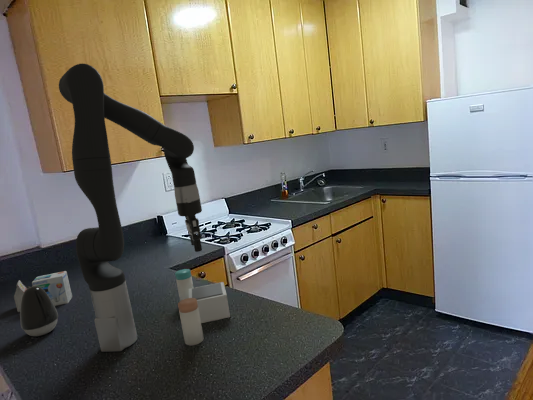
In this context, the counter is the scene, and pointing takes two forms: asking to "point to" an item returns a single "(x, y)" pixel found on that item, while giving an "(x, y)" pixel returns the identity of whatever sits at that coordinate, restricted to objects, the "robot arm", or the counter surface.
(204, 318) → the grey unit
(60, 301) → the light bulb box
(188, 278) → the teal capped canister
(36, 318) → the dark grey rounded pod
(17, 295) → the sunburst logo carton
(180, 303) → the white spice bottle
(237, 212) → the counter surface
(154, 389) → the counter surface
